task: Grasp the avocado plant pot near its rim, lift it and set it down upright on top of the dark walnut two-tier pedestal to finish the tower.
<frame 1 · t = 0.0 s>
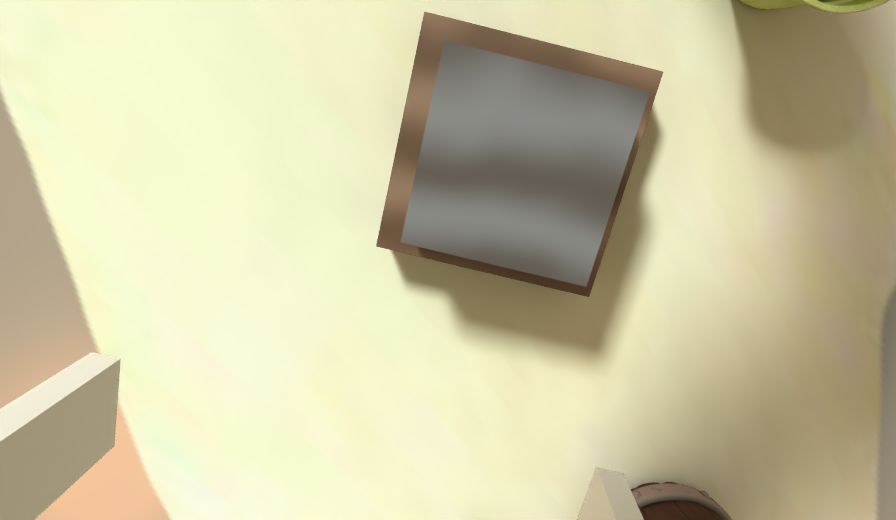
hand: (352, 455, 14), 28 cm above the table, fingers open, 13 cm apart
pedestal: (507, 159, 39), on the table
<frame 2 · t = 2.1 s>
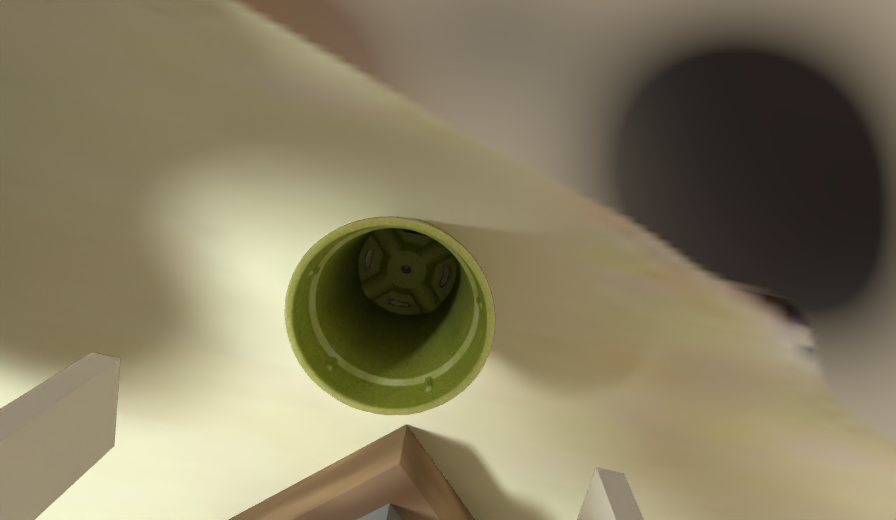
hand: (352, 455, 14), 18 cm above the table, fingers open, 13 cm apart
plant pot: (409, 266, 31), on the table
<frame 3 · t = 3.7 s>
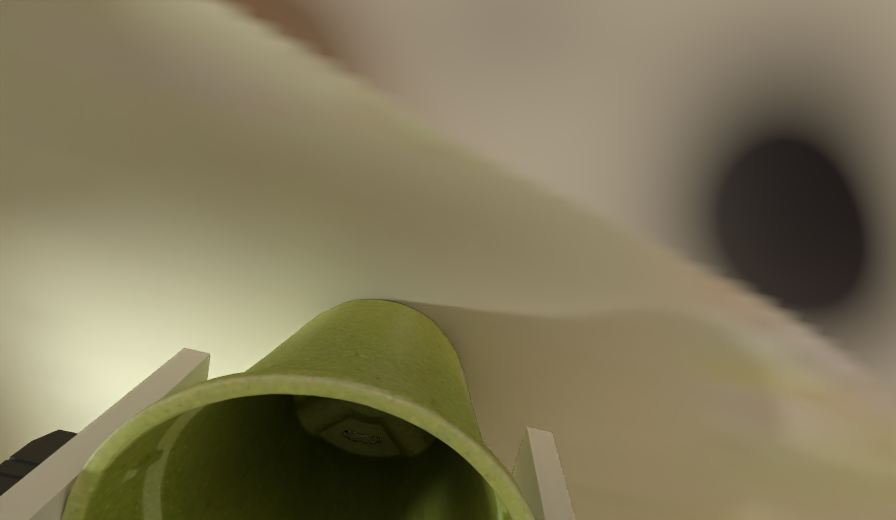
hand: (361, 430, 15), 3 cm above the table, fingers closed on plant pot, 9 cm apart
plant pot: (379, 376, 18), on the table, touching gripper
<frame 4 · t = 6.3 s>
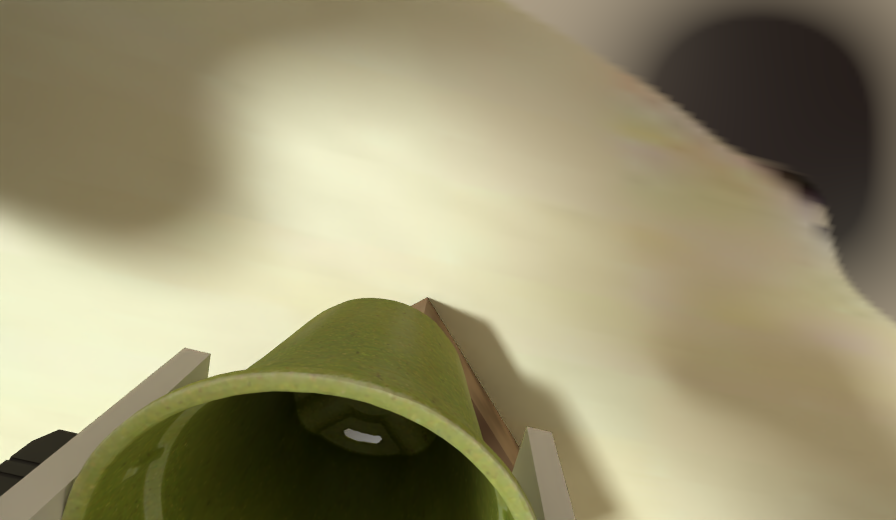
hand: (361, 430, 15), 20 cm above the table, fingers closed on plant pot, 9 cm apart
plant pot: (379, 374, 18), point 16 cm above the table, touching gripper
pedestal: (388, 437, 38), on the table
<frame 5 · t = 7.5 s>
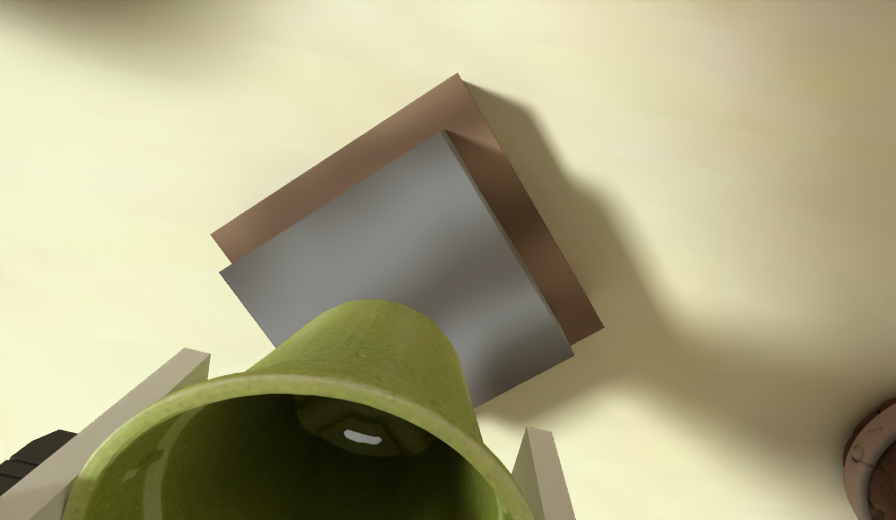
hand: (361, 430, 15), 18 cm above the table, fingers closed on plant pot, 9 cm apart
plant pot: (379, 376, 18), point 15 cm above the table, touching gripper
pedestal: (416, 262, 33), on the table
when the fingers open (13 cm above the table, at t = 8.7 s): plant pot drops 1 cm, resting on pedestal.
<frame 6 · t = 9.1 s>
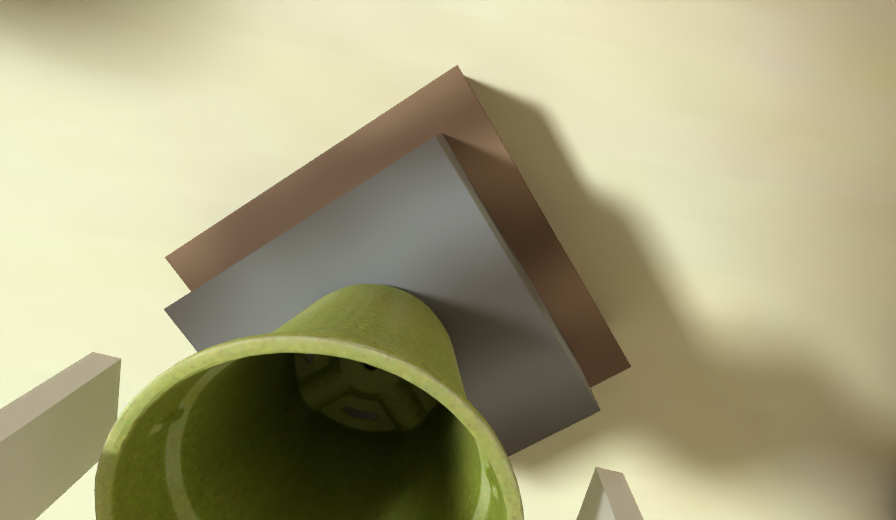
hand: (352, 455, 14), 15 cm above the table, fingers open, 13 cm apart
plant pot: (377, 356, 20), point 9 cm above the table, touching pedestal
pedestal: (409, 286, 28), on the table
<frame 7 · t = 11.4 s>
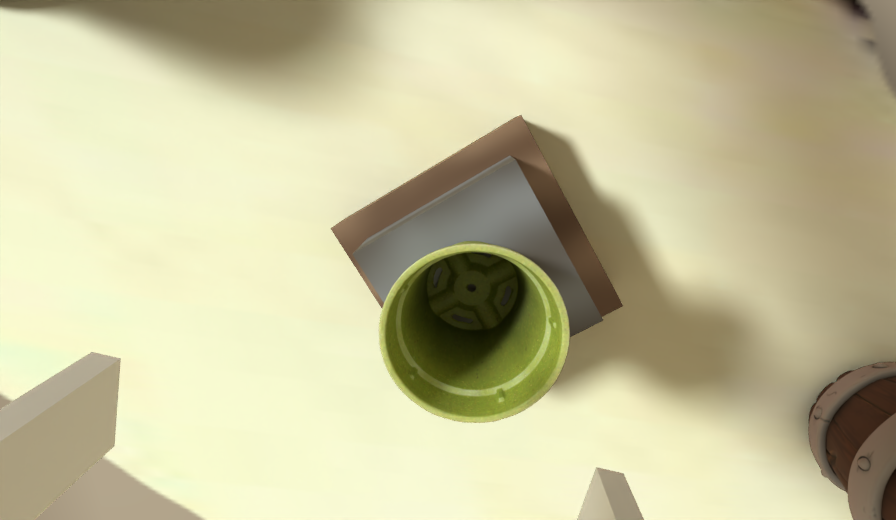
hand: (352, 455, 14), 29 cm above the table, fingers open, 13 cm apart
plant pot: (473, 285, 34), point 9 cm above the table, touching pedestal
flowerpot: (864, 414, 44), on the table
pedestal: (477, 254, 42), on the table
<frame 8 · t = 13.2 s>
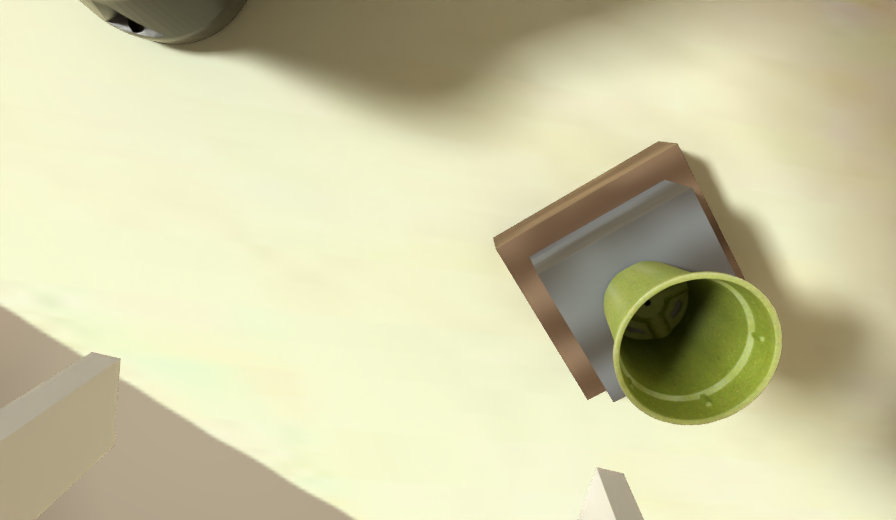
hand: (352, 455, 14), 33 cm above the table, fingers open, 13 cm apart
plant pot: (645, 299, 37), point 9 cm above the table, touching pedestal
pedestal: (615, 267, 46), on the table
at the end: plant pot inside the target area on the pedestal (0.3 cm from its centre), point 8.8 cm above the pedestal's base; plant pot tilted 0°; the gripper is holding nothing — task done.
